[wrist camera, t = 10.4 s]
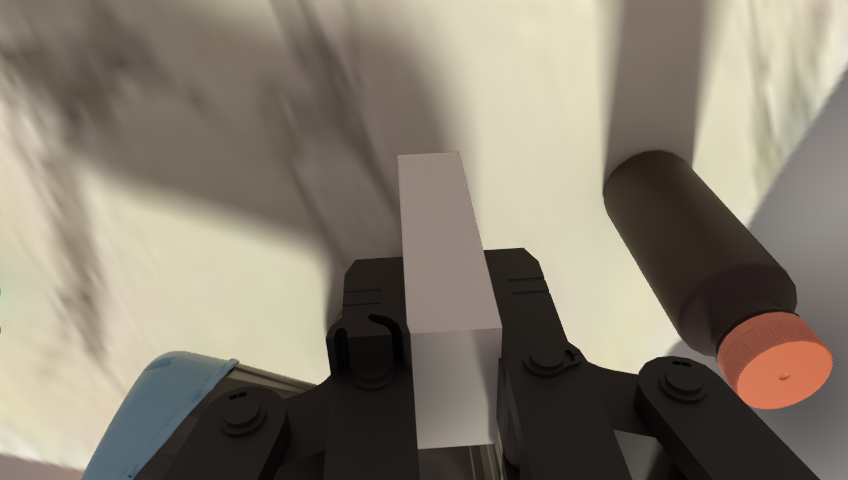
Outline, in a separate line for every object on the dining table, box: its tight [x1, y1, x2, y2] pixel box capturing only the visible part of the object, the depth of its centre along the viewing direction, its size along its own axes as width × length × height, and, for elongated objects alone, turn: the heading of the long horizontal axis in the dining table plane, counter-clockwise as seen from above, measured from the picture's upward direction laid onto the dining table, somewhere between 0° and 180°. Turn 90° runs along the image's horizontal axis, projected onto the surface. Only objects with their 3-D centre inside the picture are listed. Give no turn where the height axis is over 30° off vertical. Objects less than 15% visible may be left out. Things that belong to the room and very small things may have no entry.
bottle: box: [604, 151, 833, 409], centre depth 41 cm, size 7×7×20 cm
